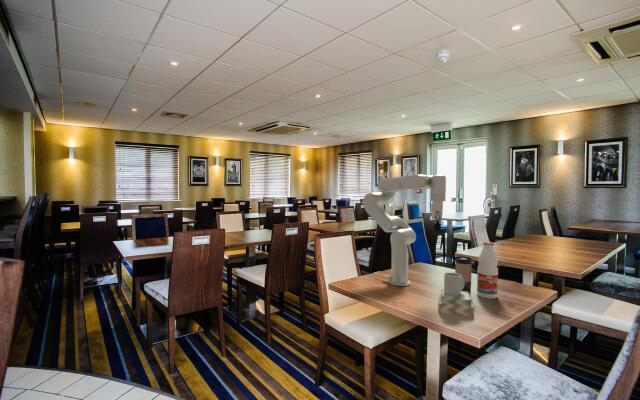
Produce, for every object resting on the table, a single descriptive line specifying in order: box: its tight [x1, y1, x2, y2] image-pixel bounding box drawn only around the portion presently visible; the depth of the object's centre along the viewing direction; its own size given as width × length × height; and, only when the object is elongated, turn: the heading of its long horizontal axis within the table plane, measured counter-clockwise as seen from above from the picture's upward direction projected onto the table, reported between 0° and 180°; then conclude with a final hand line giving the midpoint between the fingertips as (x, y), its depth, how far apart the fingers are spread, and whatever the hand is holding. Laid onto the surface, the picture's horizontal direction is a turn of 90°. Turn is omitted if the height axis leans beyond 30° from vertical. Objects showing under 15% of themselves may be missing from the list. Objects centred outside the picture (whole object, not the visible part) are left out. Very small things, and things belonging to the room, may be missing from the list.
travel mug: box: [454, 256, 473, 296], centre depth 168 cm, size 8×8×20 cm
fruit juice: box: [476, 241, 499, 300], centre depth 169 cm, size 9×9×28 cm
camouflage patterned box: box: [438, 288, 475, 318], centre depth 150 cm, size 14×14×7 cm
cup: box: [443, 272, 465, 296], centre depth 151 cm, size 7×10×9 cm
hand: (437, 230), depth 174 cm, fingers open, 9 cm apart
